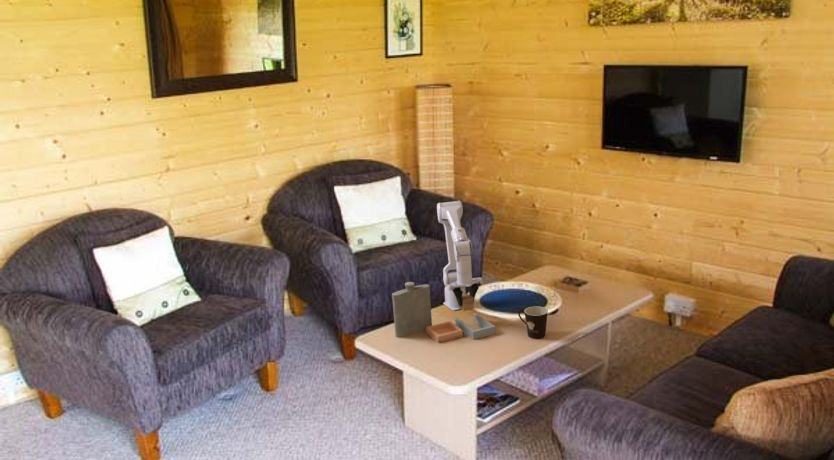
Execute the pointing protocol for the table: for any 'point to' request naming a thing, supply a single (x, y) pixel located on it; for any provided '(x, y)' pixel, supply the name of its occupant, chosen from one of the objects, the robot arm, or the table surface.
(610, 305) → the table surface
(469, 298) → the walnut cube
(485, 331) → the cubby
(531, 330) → the coffee mug
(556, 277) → the table surface
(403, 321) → the hip flask
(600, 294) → the table surface
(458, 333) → the tray
